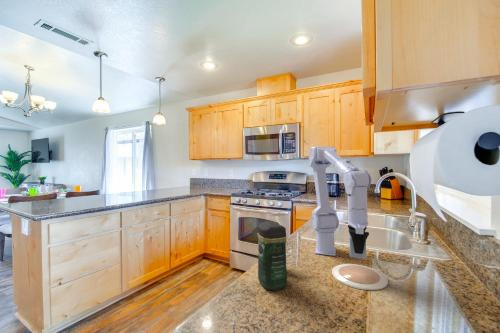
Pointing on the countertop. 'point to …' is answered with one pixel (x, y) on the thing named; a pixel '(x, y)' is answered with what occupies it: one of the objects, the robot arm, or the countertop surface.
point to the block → (352, 252)
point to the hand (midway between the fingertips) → (358, 250)
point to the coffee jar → (272, 255)
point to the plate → (360, 277)
